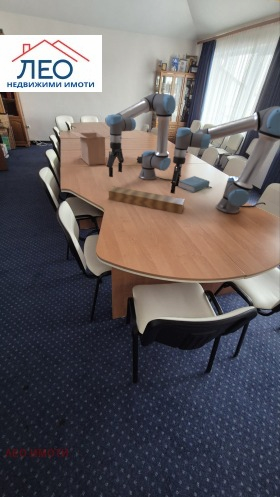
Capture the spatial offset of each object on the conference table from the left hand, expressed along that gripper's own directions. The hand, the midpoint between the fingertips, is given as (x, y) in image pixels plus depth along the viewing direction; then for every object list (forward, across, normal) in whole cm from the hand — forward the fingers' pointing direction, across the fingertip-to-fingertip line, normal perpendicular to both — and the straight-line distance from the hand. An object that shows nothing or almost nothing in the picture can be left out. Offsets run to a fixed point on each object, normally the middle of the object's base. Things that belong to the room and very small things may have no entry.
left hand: (115, 174), depth 158 cm
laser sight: (+15, +95, +13) cm, 97 cm away
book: (+16, +52, -49) cm, 73 cm away
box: (+16, +68, +64) cm, 94 cm away
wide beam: (+16, -1, -25) cm, 30 cm away
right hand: (+2, +1, -44) cm, 44 cm away
